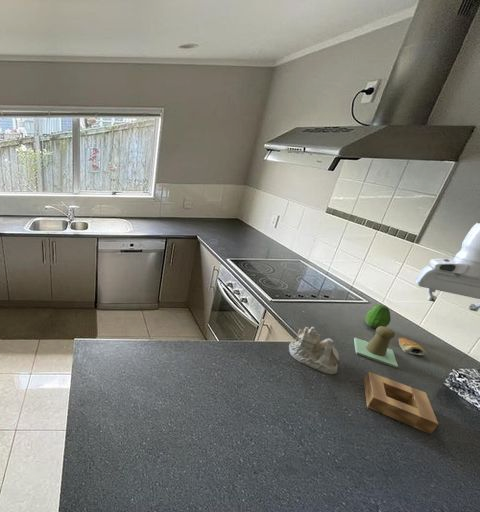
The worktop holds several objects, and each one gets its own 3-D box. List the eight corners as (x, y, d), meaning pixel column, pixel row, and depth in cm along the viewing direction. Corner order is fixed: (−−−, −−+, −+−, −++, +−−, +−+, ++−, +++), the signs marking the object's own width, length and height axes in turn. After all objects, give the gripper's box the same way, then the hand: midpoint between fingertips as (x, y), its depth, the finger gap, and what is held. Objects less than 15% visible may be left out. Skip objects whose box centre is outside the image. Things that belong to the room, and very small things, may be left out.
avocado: (358, 324, 132) (369, 302, 128) (367, 320, 135) (378, 299, 131) (379, 334, 126) (391, 311, 121) (388, 330, 129) (400, 308, 124)
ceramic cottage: (333, 378, 100) (348, 343, 95) (282, 354, 111) (292, 321, 106) (342, 361, 110) (355, 328, 105) (293, 340, 121) (304, 310, 116)
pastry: (392, 339, 122) (396, 332, 121) (412, 344, 120) (416, 336, 119) (404, 353, 114) (408, 345, 113) (426, 358, 112) (430, 350, 111)
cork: (378, 357, 110) (391, 334, 106) (361, 347, 115) (372, 325, 111) (389, 354, 111) (401, 332, 107) (372, 344, 117) (383, 323, 113)
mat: (391, 351, 115) (392, 349, 115) (397, 368, 106) (398, 366, 106) (353, 339, 122) (354, 337, 121) (355, 353, 113) (356, 352, 112)
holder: (419, 402, 92) (425, 392, 90) (430, 434, 82) (438, 423, 80) (363, 380, 100) (368, 371, 98) (367, 407, 89) (373, 397, 88)
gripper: (520, 274, 86) (495, 312, 91) (424, 257, 98) (407, 292, 103) (531, 281, 82) (504, 320, 87) (429, 263, 93) (411, 299, 98)
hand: (451, 305), depth 95 cm, fingers open, 8 cm apart
